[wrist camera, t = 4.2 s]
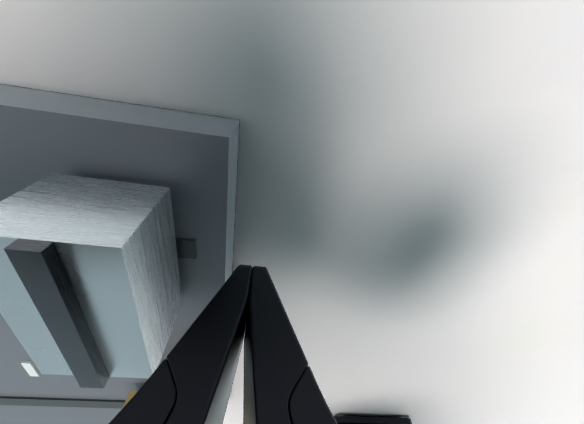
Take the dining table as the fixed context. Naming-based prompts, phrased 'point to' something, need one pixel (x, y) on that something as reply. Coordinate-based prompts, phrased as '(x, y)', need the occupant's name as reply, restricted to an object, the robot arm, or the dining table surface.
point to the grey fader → (90, 276)
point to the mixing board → (127, 168)
